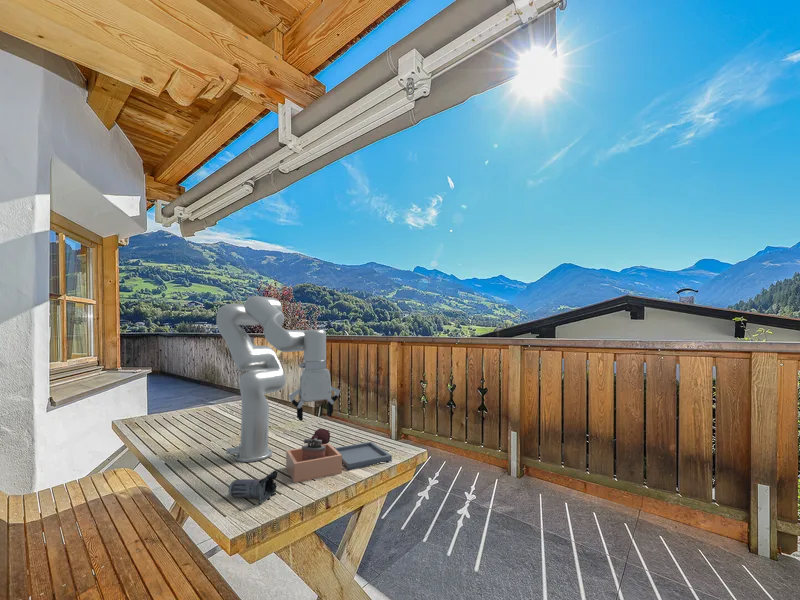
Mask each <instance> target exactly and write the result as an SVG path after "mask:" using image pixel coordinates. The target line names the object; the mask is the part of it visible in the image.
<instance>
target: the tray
mask: <svg viewBox="0 0 800 600" xmlns="http://www.w3.org/2000/svg"><path fill="white" fill-rule="evenodd" d="M334 448H335V449H336V450H337V451H338V452H339V453H340V454H341V455H342V464H343V465H342V467H344V468H345V469H347V471H352V469H353V470H356V469H362V468H367V467H371V466H370V465H372V466H374V465H373V464H377V463H380V462H386V461H391V462H392V460H393V459H392V458H393V457H392V456H393V455H392V454H390V453H389V452H388V451H386V450H384V449H383V448H382V447H381V446H379V445H377V444H376V443H374V442H373V441H368V442H361V443H355V444H349V445H344V446H338V447H334ZM386 463H387V462H386ZM377 465H378V464H377ZM366 466H367V467H366Z"/></svg>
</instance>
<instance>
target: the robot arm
mask: <svg viewBox="0 0 800 600" xmlns="http://www.w3.org/2000/svg"><path fill="white" fill-rule="evenodd" d="M284 321H285V315H284V313H283V306H282V304H281V301H279V299H277V298H275V297H268V296H260V295H255V296H254V295H253V296H250V297H249V298H247V299H246V300H245V302H244V304H241V303H227V304H223V305H222V306H220V308H219V309H218V310H217V314H216V325H217V326H216V327H217V329H218V331H219V333H220V336H221V337H222V338H223V340H224V341H225V343H226V345H227V347H228V350H229V353H230V354H231V358H232V360H233V362H234V365H235V367H236V368H237V370H239V371H243V372H244V373H243V374H242V375H241V377H240V378H239V384H238V385H239V391H240V397H241V399H240V400H241V417H240V418H241V420H240V421H241V423H240V443H239V444H238V445H237V446H236V447H228V448H226V450H225V451H226V455H230V456H232V455H234V456H235V457H234V458H235V460H236V461H237V462H242V463H252V462H258V461H264V460H265V459H268V458H270V457H271V456H272V455H273V450H272V449H271V448H269V430H270V429H269V428H270V427H269V426H270V425H269V422H270V420H269V417H270V404H269V401H268V399H267V398H266V396H265V394H271V393H275V392H279V391H281V390H283V389H284V387H285V385H286V383H287V382H286V381H287V378H286V374H285V371H284V368H283V367H282V365H281V362H280V361H279V359H278V355H277V354H276V352H275V351H274V349H273V348H275V349H276V350H277V351H278V352H279V351H280V352H282V353H291V352H294V353H295V352H303V361H302V362H301V363H299V364H298V367H299V368H301V369H302V370H301V372H300V373H301V374H300V377H299V378H300V379H299V388H297V389H296V390H295V391H293V392H291V393H289V394H288V399H289V401H290V402H291V404H292V405H293V406H294V407H296V418H297V419H298V420H299V421H300V422H301V421H303V420H304V419H303V417H304V416H303V415H304V414H303V412H304V411H303V409H304V408H303V406H304V404H305V403H311V402H320V401H327V404H326V416H328V417H331V418H332V416H333V413H334V404H335V402H336V401H337V400H338V398H339V395H340V393H341V389H339V388H336V387H334V386H332V381H331V373H330V369H328V368H327V333H326V330H324V329H308V330H306V329H285V328H284V327H282V326H283V324H284ZM258 325H260V326H261V327H262V328H263V333H264V334H263V335H264V338H265V340H266V342H268V343H269V344H270V345H271V346H272V347H273V348H272V347H270V346H268V345H256V344H253V341H252V340H251V338H250V335H249V334H248V333H247V332H246V331H245V329H243V328H242V327H240V326H258ZM245 371H246V372H245ZM332 392H333V393H334V394H333V395H332ZM297 395H298V398H299V400H298V401H297V400H296V399H295V397H296V396H297Z"/></svg>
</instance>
